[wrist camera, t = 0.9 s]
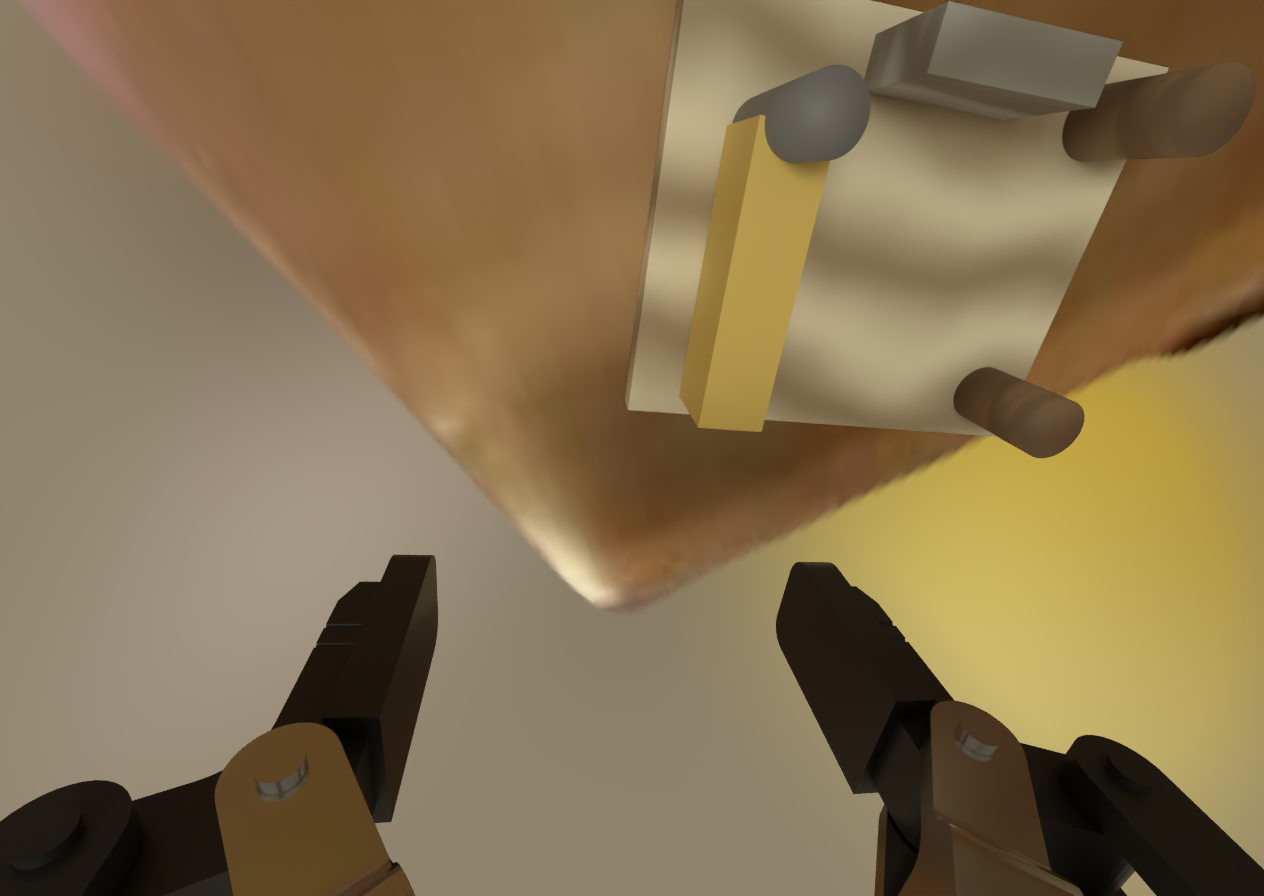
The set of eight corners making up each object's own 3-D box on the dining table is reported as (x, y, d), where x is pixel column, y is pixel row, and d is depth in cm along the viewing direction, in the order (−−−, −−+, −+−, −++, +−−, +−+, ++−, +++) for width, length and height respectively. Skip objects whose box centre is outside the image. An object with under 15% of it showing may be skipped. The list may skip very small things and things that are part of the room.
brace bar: (733, 88, 22) (797, 55, 16) (802, 101, 22) (887, 74, 17) (679, 396, 28) (712, 451, 22) (734, 400, 28) (781, 455, 22)
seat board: (680, -27, 21) (728, -105, 16) (1136, 74, 25) (1310, 42, 19) (624, 399, 29) (642, 453, 23) (980, 426, 33) (1072, 478, 27)
